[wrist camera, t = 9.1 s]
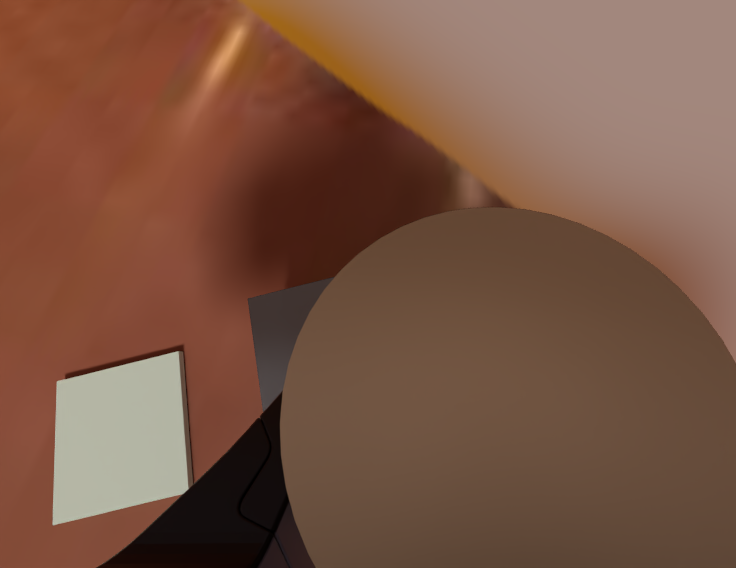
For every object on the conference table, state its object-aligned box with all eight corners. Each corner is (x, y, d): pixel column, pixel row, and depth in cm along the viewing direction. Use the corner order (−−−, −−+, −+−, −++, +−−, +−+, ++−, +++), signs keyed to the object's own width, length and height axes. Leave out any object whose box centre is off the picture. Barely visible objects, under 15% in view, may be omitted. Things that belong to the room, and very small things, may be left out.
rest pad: (193, 489, 16) (188, 492, 16) (60, 521, 17) (52, 525, 16) (182, 351, 18) (178, 351, 18) (64, 381, 18) (57, 381, 18)
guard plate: (587, 472, 14) (635, 496, 11) (307, 538, 14) (285, 579, 11) (505, 252, 16) (526, 228, 14) (272, 310, 16) (247, 298, 14)
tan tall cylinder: (445, 446, 13) (760, 863, 2) (362, 413, 14) (202, 568, 2) (468, 360, 14) (780, 274, 3) (389, 333, 15) (368, 166, 3)
